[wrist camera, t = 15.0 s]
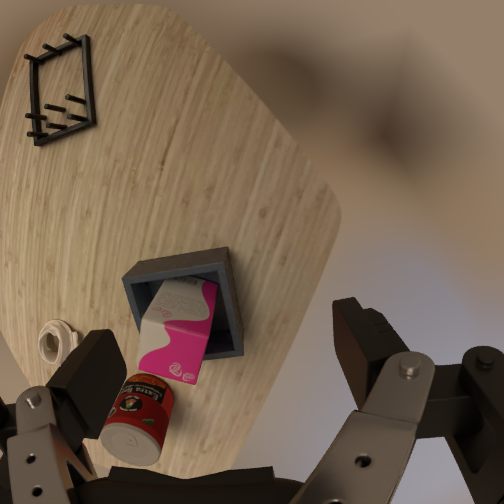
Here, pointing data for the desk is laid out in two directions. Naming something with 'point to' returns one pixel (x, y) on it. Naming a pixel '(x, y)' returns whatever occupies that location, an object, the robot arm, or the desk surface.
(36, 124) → the dish rack
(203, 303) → the supplement box
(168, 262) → the dark grey storage bin
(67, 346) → the cream coiled cloth
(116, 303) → the desk surface
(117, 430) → the canned food
